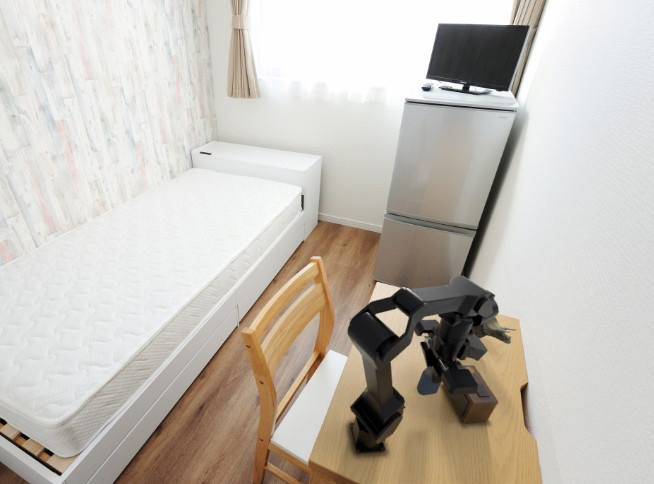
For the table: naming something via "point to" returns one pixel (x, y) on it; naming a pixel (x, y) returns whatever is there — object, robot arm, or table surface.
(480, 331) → the toy dinosaur
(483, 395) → the radio
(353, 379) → the table surface
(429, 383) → the vaping device
